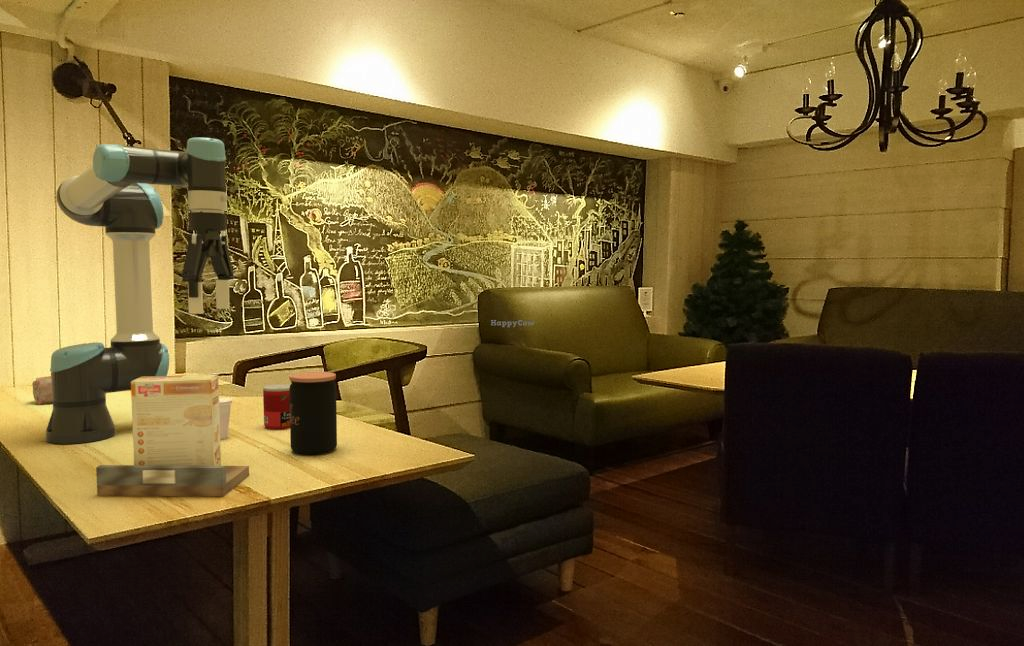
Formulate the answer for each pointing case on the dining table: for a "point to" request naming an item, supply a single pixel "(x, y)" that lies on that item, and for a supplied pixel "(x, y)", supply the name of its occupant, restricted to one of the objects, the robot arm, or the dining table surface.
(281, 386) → the canned food
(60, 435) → the robot arm
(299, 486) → the dining table surface
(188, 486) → the shelf board
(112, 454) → the dining table surface
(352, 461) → the dining table surface
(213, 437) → the coffeecake box
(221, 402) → the smoothie
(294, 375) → the coffee jar
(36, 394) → the food item
